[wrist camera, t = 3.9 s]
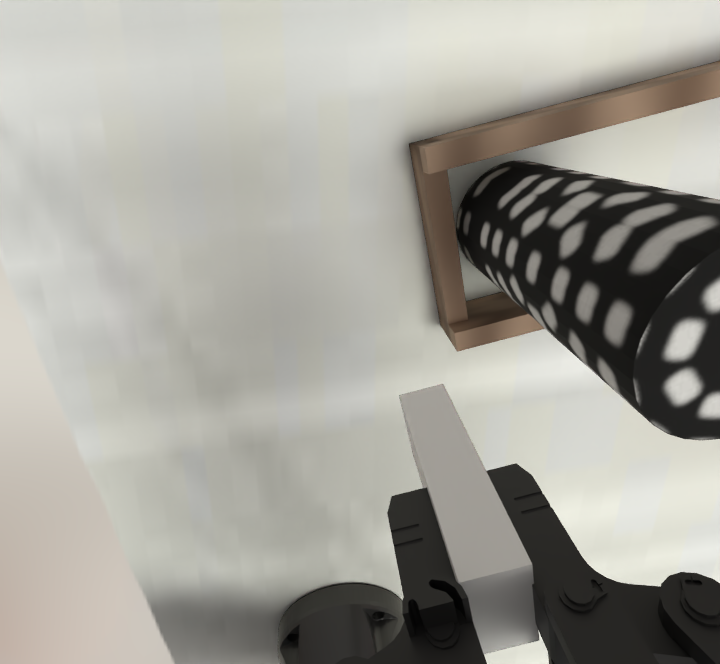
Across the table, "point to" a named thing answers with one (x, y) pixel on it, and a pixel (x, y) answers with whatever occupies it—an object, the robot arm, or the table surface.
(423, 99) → the table surface
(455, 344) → the walnut rest
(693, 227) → the spotted tube
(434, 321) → the table surface
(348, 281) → the table surface
